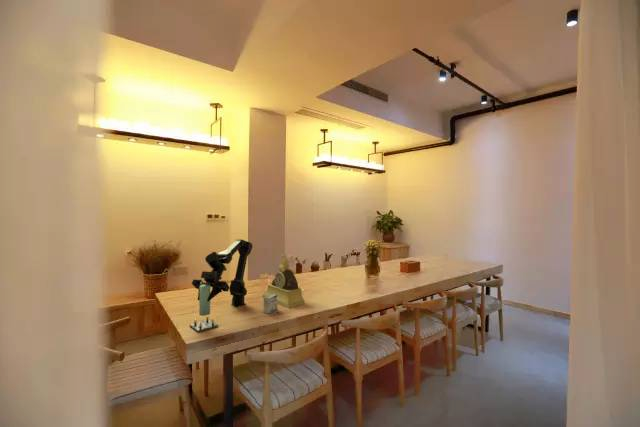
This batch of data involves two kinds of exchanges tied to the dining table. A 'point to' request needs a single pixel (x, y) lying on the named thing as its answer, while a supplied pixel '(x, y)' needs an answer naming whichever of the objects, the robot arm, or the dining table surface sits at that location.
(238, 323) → the dining table surface
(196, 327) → the plate
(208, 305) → the teal wooden post
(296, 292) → the decorative clock
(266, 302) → the medicine box
